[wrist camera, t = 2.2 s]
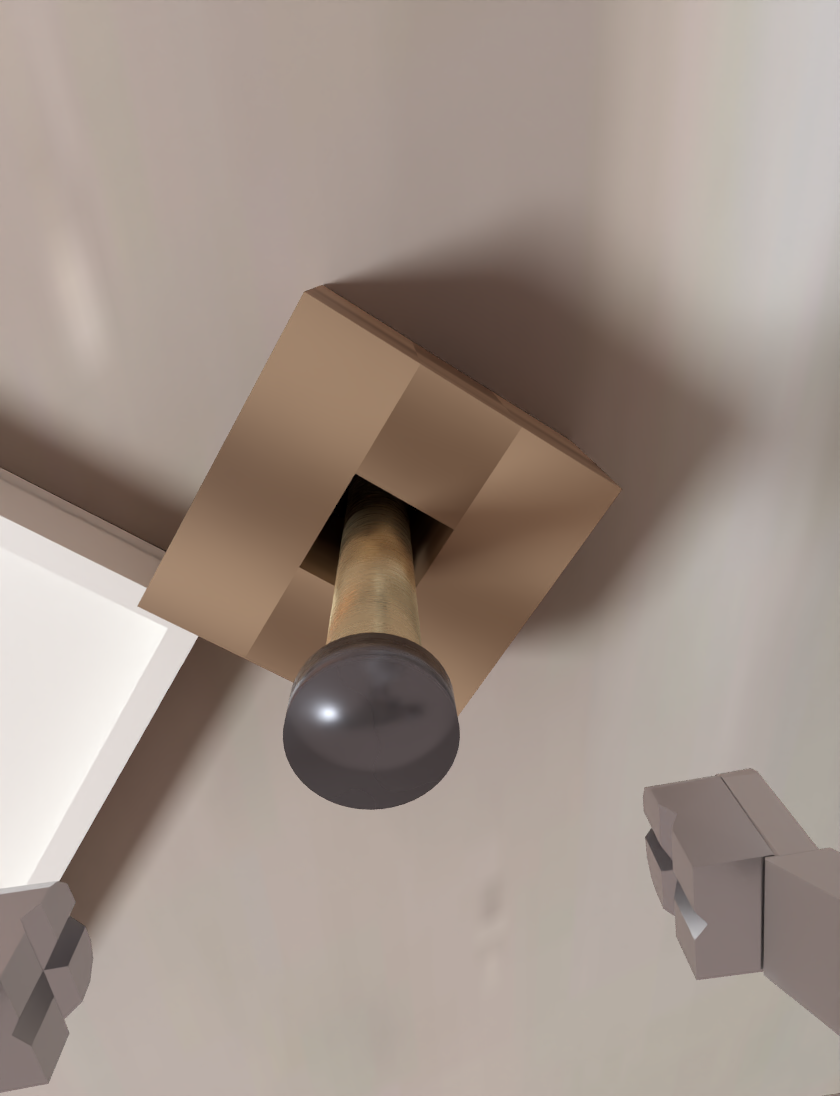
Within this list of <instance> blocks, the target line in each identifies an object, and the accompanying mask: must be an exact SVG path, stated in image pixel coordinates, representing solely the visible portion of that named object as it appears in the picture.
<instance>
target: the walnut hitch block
mask: <svg viewBox="0 0 840 1096" xmlns="http://www.w3.org/2000/svg"><path fill="white" fill-rule="evenodd" d="M355 474H357V475H359V476H361V477H362V478H364V479H366V480H368V481H369V482H371V483H373V484H375V485H376V486H378V487H380V488H382V489H383V490H385V491H387V492H389V493H390V494H392V495H394V496H396V497H397V498H399V499H401V500H403V501H404V502H406V503H408V504H410V505H412V506H413V507H415V508H417V509H416V511H415V512H414V514H413V516H412V517H411V519H410V520H409V526H410V536H411V546H412V556H413V565H414V575H415V585H416V595H417V605H418V615H419V625H420V635H421V645H422V647H423V648H425V649H426V650H427V651H429V652H430V653H431V654H432V655H433V656H434V657H435V658H436V659H437V660H438V661H439V662H440V663H441V665H442V666H443V667H444V669H445V671H446V672H447V674H448V676H449V678H450V681H451V684H452V687H453V692H454V698H455V704H456V710H457V716H458V715H459V714H460V713H461V711H462V710H463V708H464V707H465V706H466V704H467V703H468V702H469V700H470V699H471V697H472V696H473V695H474V693H475V692H476V690H477V689H478V688H479V686H480V685H481V684H482V682H483V681H484V679H485V678H486V677H487V675H488V674H489V673H490V671H491V670H492V668H493V667H494V666H495V664H496V663H497V661H498V660H499V659H500V657H501V656H502V655H503V653H504V652H505V650H506V649H507V648H508V646H509V645H510V644H511V642H512V641H513V639H514V638H515V637H516V635H517V634H518V632H519V631H520V630H521V628H522V627H523V626H524V624H525V623H526V621H527V620H528V619H529V617H530V616H531V615H532V613H533V612H534V610H535V609H536V608H537V606H538V605H539V603H540V602H541V601H542V599H543V598H544V597H545V595H546V594H547V592H548V591H549V590H550V588H551V587H552V586H553V584H554V583H555V581H556V580H557V579H558V577H559V576H560V574H561V573H562V572H563V570H564V569H565V568H566V566H567V565H568V563H569V562H570V561H571V559H572V558H573V557H574V555H575V554H576V552H577V551H578V550H579V548H580V547H581V545H582V544H583V543H584V541H585V540H586V539H587V537H588V536H589V534H590V533H591V532H592V530H593V529H594V528H595V526H596V525H597V523H598V522H599V521H600V519H601V518H602V516H603V515H604V514H605V512H606V511H607V510H608V508H609V507H610V505H611V504H612V503H613V501H614V500H615V499H616V497H617V496H618V494H619V493H620V492H621V490H622V489H621V488H620V487H619V486H618V485H617V484H616V483H615V482H614V481H613V480H612V479H611V478H610V477H609V476H607V475H606V474H605V473H604V472H603V471H602V470H601V469H600V468H599V467H598V466H597V465H596V464H595V463H594V462H593V461H592V460H591V459H590V458H588V457H587V456H586V455H585V454H584V453H583V452H582V451H581V450H580V449H579V448H578V447H577V446H576V445H575V444H574V443H573V442H572V441H570V440H569V439H567V438H565V437H564V436H562V435H561V434H559V433H557V432H556V431H554V430H553V429H551V428H549V427H548V426H546V425H545V424H543V423H541V422H540V421H538V420H537V419H535V418H534V417H532V416H530V415H529V414H527V413H526V412H524V411H522V410H521V409H519V408H518V407H516V406H514V405H513V404H511V403H510V402H508V401H506V400H505V399H503V398H502V397H500V396H498V395H497V394H495V393H494V392H492V391H491V390H489V389H487V388H486V387H484V386H483V385H481V384H479V383H478V382H476V381H475V380H473V379H471V378H470V377H468V376H467V375H465V374H463V373H462V372H460V371H459V370H457V369H455V368H454V367H452V366H451V365H449V364H448V363H446V362H444V361H443V360H441V359H440V358H438V357H436V356H435V355H433V354H432V353H430V352H428V351H427V350H425V349H424V348H422V347H420V346H419V345H417V344H416V343H414V342H413V341H411V340H409V339H408V338H406V337H405V336H403V335H401V334H400V333H398V332H397V331H395V330H393V329H392V328H390V327H389V326H387V325H385V324H384V323H382V322H381V321H379V320H377V319H376V318H374V317H373V316H371V315H370V314H368V313H366V312H365V311H363V310H362V309H360V308H358V307H357V306H355V305H354V304H352V303H350V302H349V301H347V300H346V299H344V298H342V297H341V296H339V295H338V294H336V293H334V292H333V291H331V290H330V289H328V288H327V287H325V286H323V285H321V286H318V287H315V288H313V289H310V290H307V291H305V292H304V293H303V295H302V297H301V299H300V300H299V302H298V304H297V306H296V308H295V310H294V312H293V314H292V316H291V317H290V319H289V321H288V323H287V325H286V327H285V329H284V331H283V332H282V334H281V336H280V338H279V340H278V342H277V344H276V346H275V348H274V349H273V351H272V353H271V355H270V357H269V359H268V361H267V363H266V365H265V366H264V368H263V370H262V372H261V374H260V376H259V378H258V380H257V381H256V383H255V385H254V387H253V389H252V391H251V393H250V395H249V397H248V398H247V400H246V402H245V404H244V406H243V408H242V410H241V412H240V414H239V415H238V417H237V419H236V421H235V423H234V425H233V427H232V429H231V430H230V432H229V434H228V436H227V438H226V440H225V442H224V444H223V446H222V447H221V449H220V451H219V453H218V455H217V457H216V459H215V461H214V463H213V464H212V466H211V468H210V470H209V472H208V474H207V476H206V478H205V479H204V481H203V483H202V485H201V487H200V489H199V491H198V493H197V495H196V496H195V498H194V500H193V502H192V504H191V506H190V508H189V510H188V511H187V513H186V515H185V517H184V519H183V521H182V523H181V525H180V527H179V528H178V530H177V532H176V534H175V536H174V538H173V540H172V542H171V544H170V545H169V547H168V549H167V551H166V553H165V555H164V557H163V559H162V560H161V562H160V564H159V566H158V568H157V570H156V572H155V574H154V576H153V577H152V579H151V581H150V583H149V585H148V587H147V589H146V591H145V593H144V594H143V596H142V598H141V600H140V602H139V604H138V606H137V607H140V608H142V609H144V610H146V611H148V612H150V613H152V614H154V615H156V616H158V617H160V618H162V619H164V620H166V621H168V622H170V623H172V624H174V625H176V626H179V627H181V628H183V629H185V630H187V631H189V632H191V633H193V634H195V635H197V636H199V637H201V638H203V639H205V640H207V641H209V642H211V643H213V644H215V645H217V646H220V647H222V648H224V649H226V650H228V651H230V652H232V653H234V654H236V655H238V656H240V657H242V658H244V659H246V660H248V661H250V662H252V663H254V664H256V665H258V666H261V667H263V668H265V669H267V670H269V671H271V672H273V673H275V674H277V675H279V676H281V677H283V678H285V679H287V680H289V681H291V682H293V683H294V680H295V678H296V676H297V674H298V672H299V670H300V669H301V667H302V666H303V665H304V663H305V662H306V661H307V660H308V659H309V658H310V657H311V656H312V655H313V654H314V653H315V652H316V651H318V650H319V649H320V648H322V647H323V646H325V645H326V642H327V635H328V628H329V622H330V615H331V608H332V601H333V595H334V588H335V581H336V574H337V568H338V561H339V554H340V548H341V541H342V534H343V527H344V521H345V519H344V518H342V517H340V516H338V515H336V514H335V513H333V512H332V511H333V510H334V508H335V506H336V505H337V503H338V501H339V500H340V498H341V496H342V495H343V493H344V491H345V490H346V488H347V486H348V485H349V483H350V481H351V480H352V478H353V476H354V475H355Z"/></svg>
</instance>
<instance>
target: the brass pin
mask: <svg viewBox="0 0 840 1096" xmlns="http://www.w3.org/2000/svg"><path fill="white" fill-rule="evenodd" d="M459 739H460V732H459V723H458V716H457V710H456V704H455V698H454V692H453V687H452V684H451V681H450V678H449V676H448V674H447V672H446V671H445V669H444V667H443V666H442V665H441V663H440V662H439V661H438V660H437V659H436V658H435V657H434V656H433V655H432V654H431V653H430V652H429V651H427V650H426V649H425V648H423V647H422V645H421V635H420V625H419V615H418V605H417V595H416V585H415V575H414V565H413V556H412V546H411V536H410V526H409V516H408V506H407V503H406V502H404V501H403V500H401V499H399V498H397V497H396V496H394V495H392V494H390V493H389V492H387V491H385V490H383V489H382V488H380V487H378V486H376V485H375V484H373V483H371V482H369V481H368V480H366V479H364V478H362V477H361V476H359V475H357V474H355V475H354V476H353V478H352V480H351V481H350V487H349V494H348V500H347V507H346V514H345V521H344V527H343V534H342V541H341V548H340V554H339V561H338V568H337V574H336V581H335V588H334V595H333V601H332V608H331V615H330V622H329V628H328V635H327V642H326V645H325V646H323V647H322V648H320V649H319V650H318V651H316V652H315V653H314V654H313V655H312V656H311V657H310V658H309V659H308V660H307V661H306V662H305V663H304V665H303V666H302V667H301V669H300V670H299V672H298V674H297V676H296V678H295V680H294V683H293V686H292V690H291V694H290V699H289V704H288V708H287V713H286V718H285V723H284V728H283V743H284V749H285V753H286V756H287V759H288V761H289V764H290V766H291V768H292V769H293V771H294V772H295V774H296V775H297V776H298V778H299V779H300V780H301V781H302V782H303V783H304V784H305V785H306V786H307V787H308V788H309V789H310V790H312V791H313V792H315V793H316V794H318V795H319V796H321V797H323V798H325V799H327V800H328V801H331V802H333V803H336V804H339V805H342V806H346V807H350V808H357V809H370V810H372V809H385V808H391V807H395V806H399V805H402V804H405V803H408V802H410V801H413V800H415V799H417V798H419V797H420V796H422V795H424V794H425V793H427V792H428V791H430V790H431V789H432V788H433V787H435V786H436V785H437V784H438V783H439V782H440V781H441V780H442V778H443V777H444V776H445V775H446V774H447V772H448V771H449V769H450V767H451V766H452V764H453V762H454V759H455V757H456V754H457V750H458V746H459Z"/></svg>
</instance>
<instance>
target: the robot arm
mask: <svg viewBox="0 0 840 1096" xmlns="http://www.w3.org/2000/svg"><path fill="white" fill-rule="evenodd" d="M643 807H644V813H645V815H646V817H647V819H648V821H649V823H650V825H651V827H652V828H651V829H650V831H649V832H648V834H647V835H646V837H645V841H646V852H647V860H648V864H649V869H650V874H651V878H652V881H653V884H654V887H655V890H656V893H657V895H658V897H659V900H660V902H661V904H662V906H663V909H665V910H666V911H668V912H669V913H671V914H672V915H674V916H675V925H676V937H677V939H678V941H679V944H680V946H681V948H682V950H683V952H684V954H685V956H686V959H687V961H688V963H689V965H690V967H691V969H692V971H693V974H694V976H695V978H696V980H701V979H709V978H716V977H724V976H732V975H740V974H747V973H755V972H763V971H764V976H765V977H767V978H768V979H769V980H770V981H772V982H773V983H774V984H775V985H777V986H778V987H779V988H780V989H782V990H783V991H784V992H785V993H787V994H788V995H789V996H790V997H792V998H793V999H794V1000H795V1001H797V1002H798V1003H799V1004H800V1005H802V1006H803V1007H804V1008H805V1009H807V1010H808V1011H809V1012H810V1013H812V1014H813V1015H814V1016H815V1017H817V1018H818V1019H819V1020H820V1021H822V1022H823V1023H824V1024H825V1025H827V1026H828V1027H829V1028H830V1029H832V1030H833V1031H834V1032H835V1033H837V1034H838V1035H839V1036H840V852H838V851H836V850H834V849H832V848H824V849H818V847H817V846H816V845H815V844H814V842H813V841H812V840H811V839H810V837H809V836H808V835H807V834H806V832H805V831H804V830H803V828H802V827H801V826H800V825H799V823H798V822H797V821H796V820H795V818H794V817H793V816H792V815H791V813H790V812H789V811H788V809H787V808H786V807H785V806H784V804H783V803H782V802H781V801H780V799H779V798H778V797H777V796H776V794H775V793H774V792H773V790H772V789H771V788H770V787H769V785H768V784H767V783H766V782H765V780H764V779H763V778H762V777H761V775H760V774H759V773H758V772H757V771H755V770H753V769H751V768H749V769H743V770H738V771H732V772H727V773H721V774H716V775H715V776H709V777H703V778H697V779H691V780H685V781H679V782H673V783H667V784H661V785H655V786H649V787H645V788H644V793H643ZM75 903H76V901H75V899H74V897H73V895H72V893H71V890H70V888H69V886H68V884H67V883H63V882H60V881H53V882H46V883H39V884H31V885H24V886H16V887H9V888H2V889H0V1093H1V1092H7V1091H12V1090H17V1089H22V1088H28V1087H33V1086H38V1085H43V1084H48V1083H49V1081H50V1079H51V1076H52V1074H53V1071H54V1069H55V1067H56V1064H57V1062H58V1059H59V1057H60V1055H61V1052H62V1050H63V1047H64V1045H65V1043H66V1040H67V1038H68V1035H69V1031H68V1028H67V1025H66V1022H65V1020H64V1019H65V1018H66V1017H67V1016H68V1015H69V1014H70V1013H71V1012H72V1011H73V1010H74V1009H75V1008H76V1007H77V1006H78V1005H79V1004H80V1003H81V1002H82V1001H83V999H84V996H85V993H86V991H87V988H88V986H89V983H90V979H91V971H92V963H93V953H92V945H91V940H90V937H89V934H88V932H87V929H86V927H85V926H84V925H82V924H81V923H80V922H78V921H77V920H75V919H74V918H72V917H71V916H70V914H71V912H72V909H73V907H74V905H75ZM824 1096H840V1093H837V1094H830V1095H824Z"/></svg>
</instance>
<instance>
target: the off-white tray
mask: <svg viewBox="0 0 840 1096" xmlns="http://www.w3.org/2000/svg"><path fill="white" fill-rule="evenodd" d="M165 553H166V552H165V551H163V550H161V549H159V548H157V547H155V546H153V545H151V544H149V543H148V542H146V541H144V540H142V539H140V538H138V537H136V536H134V535H132V534H130V533H128V532H126V531H124V530H122V529H120V528H118V527H116V526H114V525H112V524H110V523H108V522H106V521H104V520H102V519H100V518H98V517H97V516H95V515H93V514H91V513H89V512H87V511H85V510H83V509H81V508H79V507H77V506H75V505H73V504H71V503H69V502H67V501H65V500H63V499H61V498H59V497H57V496H55V495H53V494H51V493H49V492H47V491H46V490H44V489H42V488H40V487H38V486H36V485H34V484H32V483H30V482H28V481H26V480H24V479H22V478H20V477H18V476H16V475H14V474H12V473H10V472H8V471H6V470H4V469H2V468H0V889H2V888H9V887H16V886H24V885H31V884H39V883H46V882H53V881H59V880H60V879H61V877H62V875H63V873H64V872H65V870H66V868H67V866H68V865H69V863H70V861H71V859H72V858H73V856H74V854H75V852H76V851H77V849H78V847H79V845H80V844H81V842H82V840H83V838H84V837H85V835H86V833H87V831H88V829H89V828H90V826H91V824H92V822H93V821H94V819H95V817H96V815H97V814H98V812H99V810H100V808H101V807H102V805H103V803H104V801H105V800H106V798H107V796H108V794H109V793H110V791H111V789H112V787H113V785H114V784H115V782H116V780H117V778H118V777H119V775H120V773H121V771H122V770H123V768H124V766H125V764H126V763H127V761H128V759H129V757H130V756H131V754H132V752H133V750H134V749H135V747H136V745H137V743H138V742H139V740H140V738H141V736H142V734H143V733H144V731H145V729H146V727H147V726H148V724H149V722H150V720H151V719H152V717H153V715H154V713H155V712H156V710H157V708H158V706H159V705H160V703H161V701H162V699H163V698H164V696H165V694H166V692H167V691H168V689H169V687H170V685H171V683H172V682H173V680H174V678H175V676H176V675H177V673H178V671H179V669H180V668H181V666H182V664H183V662H184V661H185V659H186V657H187V655H188V654H189V652H190V650H191V648H192V647H193V645H194V643H195V641H196V639H197V638H198V636H197V635H195V634H193V633H191V632H189V631H187V630H185V629H183V628H181V627H179V626H176V625H174V624H172V623H170V622H168V621H166V620H164V619H162V618H160V617H158V616H156V615H154V614H152V613H150V612H148V611H146V610H144V609H142V608H140V607H137V606H138V604H139V602H140V600H141V598H142V596H143V594H144V593H145V591H146V589H147V587H148V585H149V583H150V581H151V579H152V577H153V576H154V574H155V572H156V570H157V568H158V566H159V564H160V562H161V560H162V559H163V557H164V555H165Z"/></svg>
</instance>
